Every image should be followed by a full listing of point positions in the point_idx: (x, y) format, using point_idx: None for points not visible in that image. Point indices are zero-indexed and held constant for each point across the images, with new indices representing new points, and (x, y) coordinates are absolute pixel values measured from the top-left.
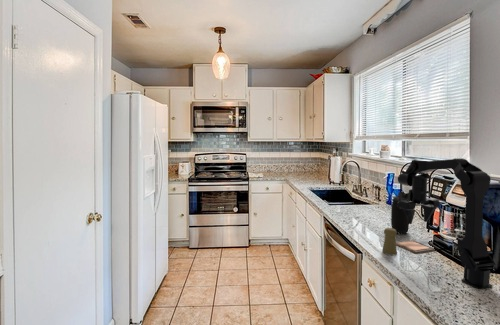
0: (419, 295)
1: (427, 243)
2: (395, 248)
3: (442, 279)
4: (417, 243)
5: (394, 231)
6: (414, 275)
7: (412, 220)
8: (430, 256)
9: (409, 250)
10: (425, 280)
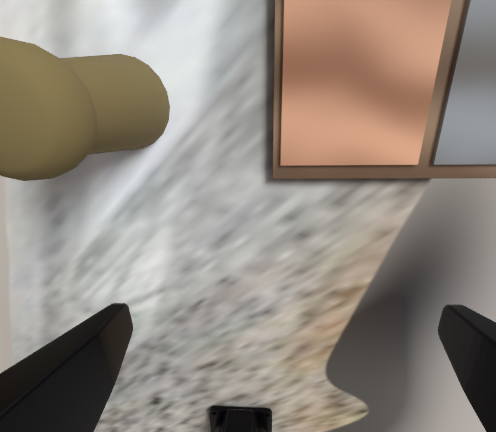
0: None
1: None
2: (125, 149)
3: (160, 381)
4: (429, 56)
5: (22, 177)
6: None
7: (106, 398)
8: (316, 230)
9: (273, 125)
10: None
